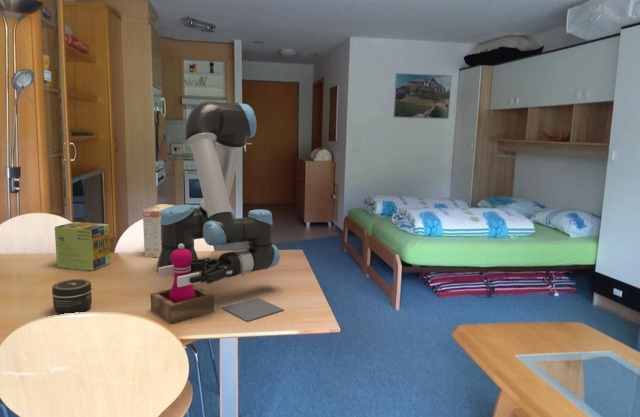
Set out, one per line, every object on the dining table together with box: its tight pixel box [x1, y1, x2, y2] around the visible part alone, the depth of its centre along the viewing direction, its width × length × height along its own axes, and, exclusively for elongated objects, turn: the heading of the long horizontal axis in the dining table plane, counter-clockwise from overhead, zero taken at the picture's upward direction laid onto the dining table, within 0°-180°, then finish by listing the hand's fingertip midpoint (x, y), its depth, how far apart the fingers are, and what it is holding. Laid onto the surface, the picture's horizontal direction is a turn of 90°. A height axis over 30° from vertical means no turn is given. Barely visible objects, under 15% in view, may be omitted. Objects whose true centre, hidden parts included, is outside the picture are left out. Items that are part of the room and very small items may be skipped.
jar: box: [51, 278, 93, 315], centre depth 138 cm, size 10×10×8 cm
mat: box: [221, 297, 285, 323], centre depth 142 cm, size 13×13×1 cm
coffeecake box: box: [142, 203, 176, 259], centre depth 200 cm, size 15×7×20 cm, turn 171°
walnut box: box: [150, 284, 215, 325], centre depth 139 cm, size 13×13×5 cm
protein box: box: [54, 221, 112, 272], centre depth 179 cm, size 10×15×16 cm
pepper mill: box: [169, 244, 195, 303], centre depth 138 cm, size 7×7×20 cm
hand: (168, 277), depth 135 cm, fingers open, 10 cm apart
